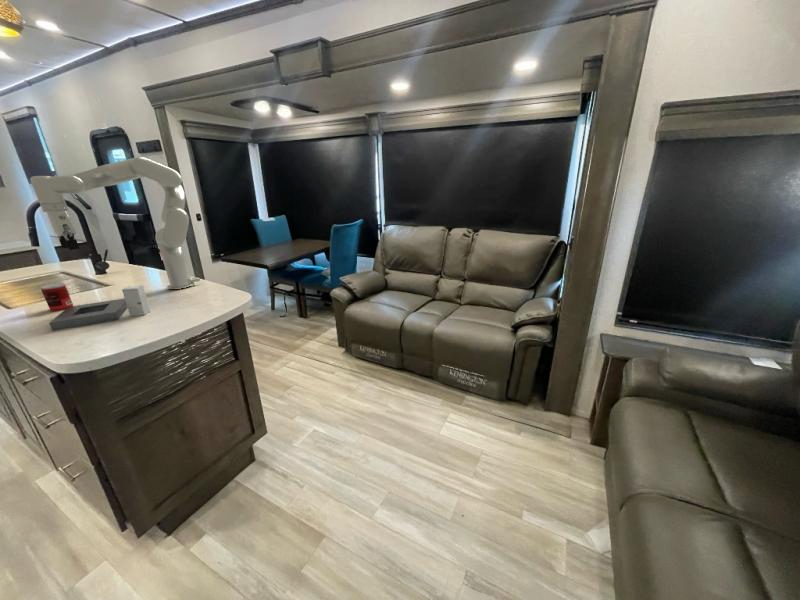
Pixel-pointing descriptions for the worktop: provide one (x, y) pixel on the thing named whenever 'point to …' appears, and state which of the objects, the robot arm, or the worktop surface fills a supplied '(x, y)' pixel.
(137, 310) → the skincare box
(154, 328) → the worktop surface
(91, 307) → the jig
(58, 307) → the canned food
